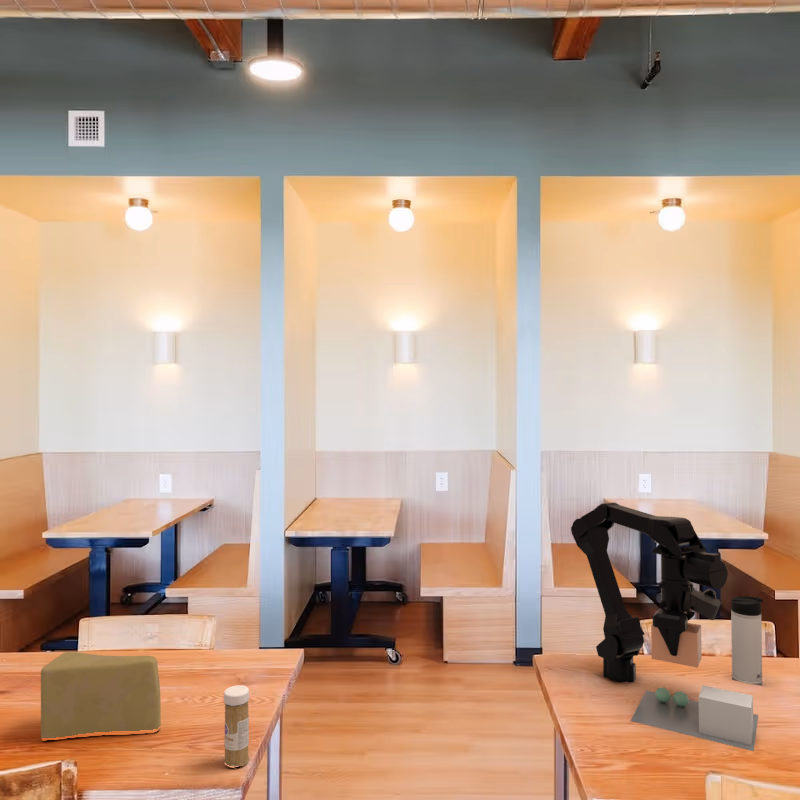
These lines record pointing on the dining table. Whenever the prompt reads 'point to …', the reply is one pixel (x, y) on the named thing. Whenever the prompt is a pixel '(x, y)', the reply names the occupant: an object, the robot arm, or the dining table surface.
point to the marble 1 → (662, 695)
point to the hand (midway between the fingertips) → (676, 650)
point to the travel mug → (746, 639)
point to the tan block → (687, 648)
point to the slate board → (680, 719)
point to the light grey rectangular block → (726, 714)
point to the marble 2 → (680, 699)
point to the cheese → (99, 694)
